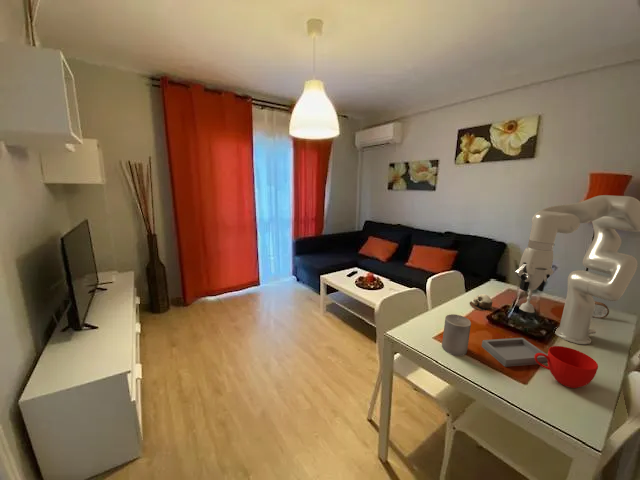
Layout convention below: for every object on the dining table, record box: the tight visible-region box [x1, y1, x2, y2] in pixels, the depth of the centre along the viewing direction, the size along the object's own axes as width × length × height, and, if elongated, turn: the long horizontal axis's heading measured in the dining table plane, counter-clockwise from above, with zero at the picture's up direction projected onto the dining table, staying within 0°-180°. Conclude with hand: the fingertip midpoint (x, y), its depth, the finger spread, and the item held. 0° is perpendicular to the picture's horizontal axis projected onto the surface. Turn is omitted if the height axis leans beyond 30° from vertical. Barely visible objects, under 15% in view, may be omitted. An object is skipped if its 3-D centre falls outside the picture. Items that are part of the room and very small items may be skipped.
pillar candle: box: [441, 314, 472, 357], centre depth 114 cm, size 10×10×15 cm
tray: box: [481, 337, 548, 368], centre depth 112 cm, size 19×13×3 cm
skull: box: [469, 293, 495, 312], centre depth 154 cm, size 12×10×10 cm
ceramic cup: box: [534, 345, 599, 389], centre depth 97 cm, size 13×17×10 cm
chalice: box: [519, 269, 547, 314], centre depth 107 cm, size 7×7×18 cm
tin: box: [592, 300, 610, 319], centre depth 144 cm, size 15×3×8 cm, turn 58°
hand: (531, 289), depth 107 cm, fingers closed on chalice, 5 cm apart
